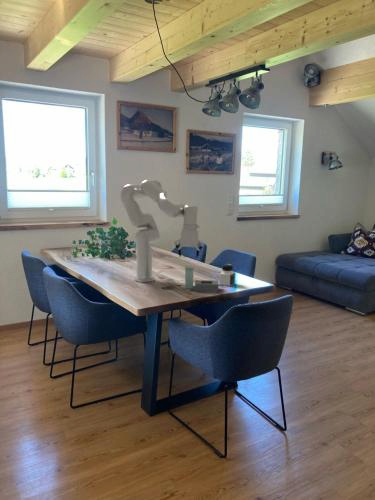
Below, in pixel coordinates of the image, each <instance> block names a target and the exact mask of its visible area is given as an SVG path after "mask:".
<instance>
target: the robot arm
mask: <svg viewBox="0 0 375 500" xmlns="http://www.w3.org/2000/svg"><path fill="white" fill-rule="evenodd" d="M146 197H149V198H150V199H151V201H152V200H153V201H154V202H155V203H156V204H157V206H158V209H160V211H161V212H162V213H164V214H165V215H166V216H167V217H170V218H173V219H174V218H183V222H182V223H183V228H182V229H181V232H180V238H178V239H177V240H175V241H174V242H173V244H174V245H175V247H176V248H177V250H178V253H177V254H178V256H179V257H182V248H195V249H196V253H195V255H196V256H195V257H196V258H198V257H199V255H200V251H201V250H202V249H203V247H204V245H205V243H204V242H203V241H201V240H200V239H199V230H198V229H199V228H200V225H197V224H198V223H197V222H198V207H197V205H192V204H186V203H185V204H184V203H172V202H171V201H169V199H167V197H168V193H167V191H166V190H164V188H163V186H162V183H161V182H160V181H158V180H156V179H145V180H143V181H142V182H141V183H130V184H129V183H128V184H126V185H124V186H123V187H122V189H121V191H120V200H121V203H122V204H123V207H124V208H125V211H126V214H127V217H128V219H129V221H130V224H131V226H132V227H133V228H134V229H140V230H137V232H135V235H134V241H135V243H134V244H135V248H136V249H135V250H136V276H135V277H134V278H133V280H134V281H135V282H139V283H148V282H149V283H151V282H154V281H155V279H156V278H155V277H154V276H153V249H152V247H151V244H155V243H157V242H158V241H159V240H160V237H161V236H160V235H161V234H160V230H159V228H158V226H157V223H156V220H155V218H154V216H153V215H152V214H151V213H150V212H142V210H141V208H140V205H139V203H138V202H137V200H136V199H142V198H146ZM178 243H180V245H179V244H178ZM199 244H200V246H199Z"/></svg>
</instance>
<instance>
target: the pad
mask: <svg viewBox="0 0 375 500" xmlns="http://www.w3.org/2000/svg"><path fill="white" fill-rule="evenodd" d="M182 285H183V284H182ZM182 290H195V285H193V288H185V284H184V285H183V286H182Z"/></svg>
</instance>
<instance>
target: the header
mask: <svg viewBox="0 0 375 500" xmlns="http://www.w3.org/2000/svg"><path fill="white" fill-rule="evenodd" d="M194 282H195V283H194V286H195V289H194V293H219V281H218V280H215V279H214V280H212V279H211V280H208V279H207V280H202V279H195V281H194Z"/></svg>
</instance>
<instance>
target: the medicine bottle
mask: <svg viewBox="0 0 375 500" xmlns="http://www.w3.org/2000/svg"><path fill="white" fill-rule="evenodd" d="M221 267H222V270H221V272H220V273H219V279H218V280H219V281H218V285H219V286H227V287H231V286H233V285H234V284H235V283H236V282H235V281H236V279H235V278H236V273H235V272H233V265H232V264H230V263H227V264H226V263H225V264H222V266H221Z"/></svg>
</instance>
